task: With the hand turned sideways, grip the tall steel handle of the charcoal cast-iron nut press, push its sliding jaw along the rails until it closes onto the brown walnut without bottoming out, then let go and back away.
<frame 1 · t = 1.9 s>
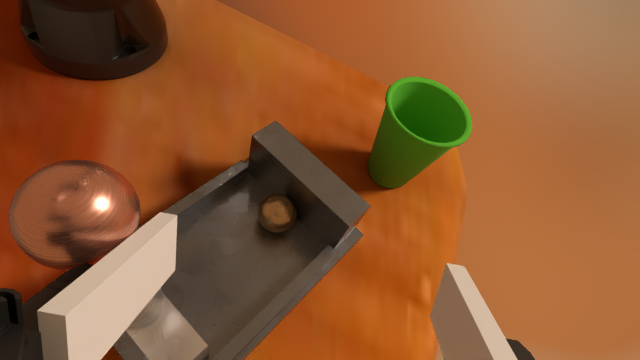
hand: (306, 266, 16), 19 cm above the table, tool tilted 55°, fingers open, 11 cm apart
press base: (232, 261, 34), on the table
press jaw: (124, 282, 20), point 12 cm above the table, slide at -0.1 cm, touching gripper
cup: (386, 171, 45), on the table
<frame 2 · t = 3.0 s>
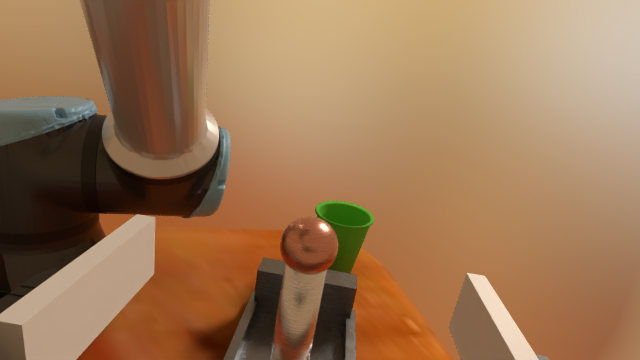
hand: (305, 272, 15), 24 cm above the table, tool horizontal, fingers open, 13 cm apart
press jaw: (293, 340, 28), point 12 cm above the table, slide at 0.0 cm
cup: (332, 275, 59), on the table
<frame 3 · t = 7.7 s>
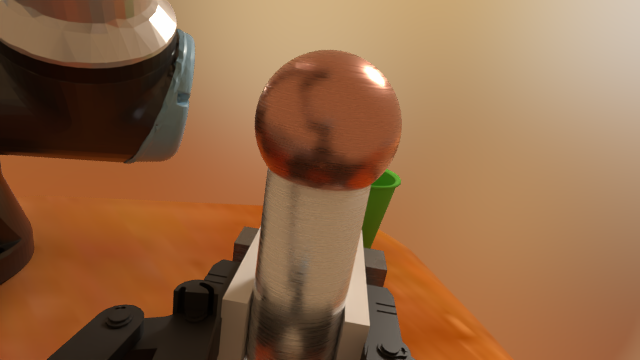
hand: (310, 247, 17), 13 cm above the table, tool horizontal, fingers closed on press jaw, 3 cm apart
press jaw: (288, 359, 13), point 12 cm above the table, slide at 0.0 cm, touching gripper
cup: (342, 260, 44), on the table
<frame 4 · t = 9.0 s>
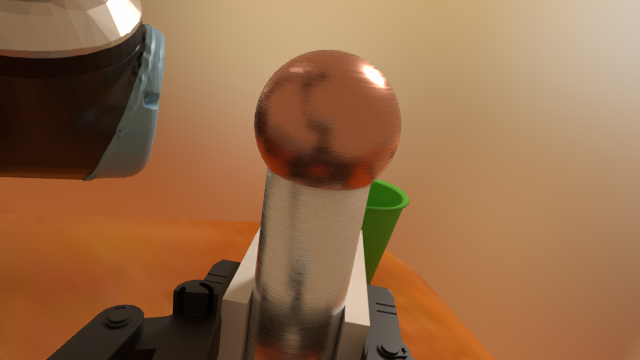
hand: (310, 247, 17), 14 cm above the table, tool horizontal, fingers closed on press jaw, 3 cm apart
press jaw: (288, 359, 13), point 12 cm above the table, slide at 5.5 cm, touching gripper
cup: (341, 287, 39), on the table
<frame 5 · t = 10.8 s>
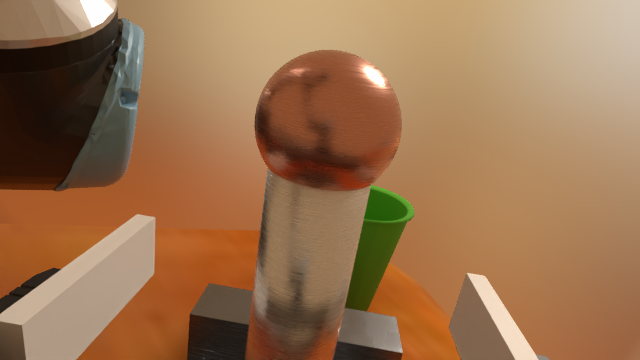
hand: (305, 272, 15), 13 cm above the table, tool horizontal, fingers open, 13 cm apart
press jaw: (288, 359, 13), point 12 cm above the table, slide at 8.4 cm
cup: (340, 304, 36), on the table
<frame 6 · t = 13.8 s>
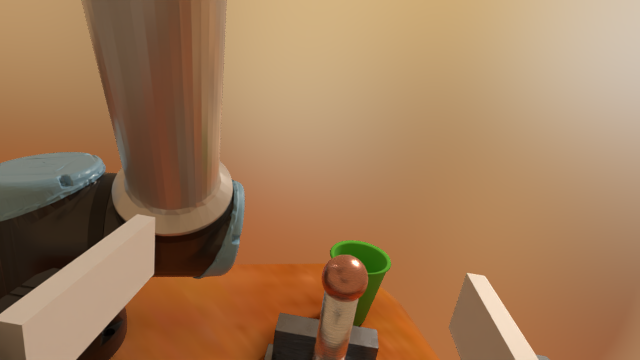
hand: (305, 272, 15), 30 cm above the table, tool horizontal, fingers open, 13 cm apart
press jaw: (329, 352, 35), point 12 cm above the table, slide at 8.4 cm
cup: (347, 317, 58), on the table
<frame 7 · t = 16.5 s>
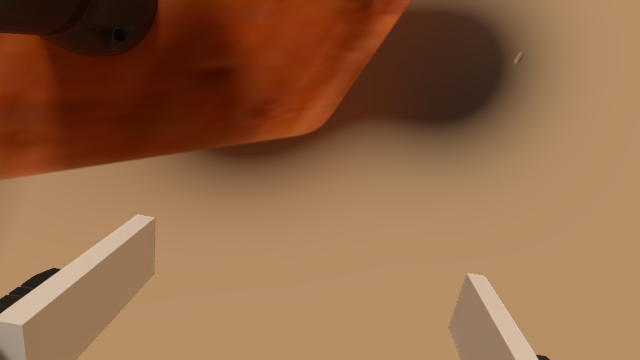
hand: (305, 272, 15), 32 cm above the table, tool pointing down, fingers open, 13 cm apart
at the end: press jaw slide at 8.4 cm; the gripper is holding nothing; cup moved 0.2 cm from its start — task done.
